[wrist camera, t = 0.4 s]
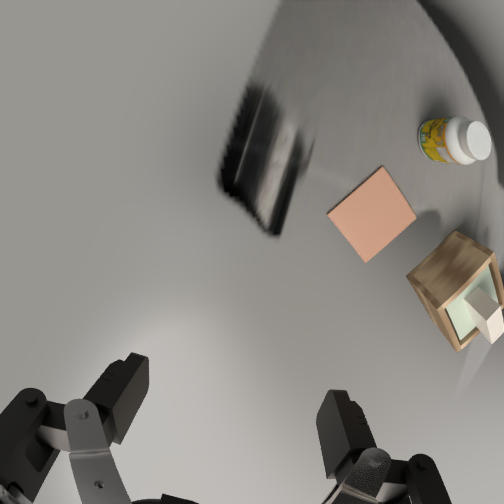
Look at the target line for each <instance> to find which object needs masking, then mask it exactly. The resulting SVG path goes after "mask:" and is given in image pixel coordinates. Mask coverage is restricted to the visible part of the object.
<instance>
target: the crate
mask: <svg viewBox="0 0 504 504" xmlns="http://www.w3.org/2000/svg"><path fill="white" fill-rule="evenodd" d="M487 266H489V269H490V273H491V276H492V279H493V283H494V287H495V291H496V295H497V299H498V304H499V305H500V306H501V310H502V309H503V308H504V288H503V284H502V279H501V275H500V271H499V268H498V264H497V261H496V257H495V254H494V252H493V251H492V250H490V249H488V248H486V247H485V246H483V245H481V244H480V243H478V242H476V241H474V240H472V239H471V238H469V237H467V236H465V235H463V234H461V233H460V232H458V231H456V230H454V231H453V232H452V233H451V234H450V235H449V236H448V237H447V238H446V239H445V240H444V241H443V242H442V243H441V244H440V245H439V246H438V247H437V248H436V249H435V250H434V251H433V252H432V253H431V254H430V255H429V256H428V257H427V258H425V259H424V260H423V261H422V262H421V263H420V264H419V265H418V266H417V267H416V268H414V269H413V270H412V271H411V272H410V273H409V274H408V275H407V276H406V277H407V279H408V280H409V282H410V283H411V285H412V287H413V288H414V290H415V292H416V293H417V295H418V297H419V299H420V300H421V302H422V304H423V305H424V307H425V309H426V311H427V313H428V314H429V316H430V318H431V319H432V321H433V322H434V323H435V324H436V325H437V327H438V328H439V329H440V331H441V332H442V333H443V335H444V336H445V337H446V338H447V340H448V341H449V342H450V344H451V345H452V347H453V348H454V349H455V351H456V352H457V353H458V352H459V351H460V350H461V349H462V348H463V347H465V346H466V345H467V344H468V343H469V342H470V341H471V340H472V339H473V338H474V337H475V336H477V335H478V334H479V333H480V332H481V331H480V330H479V329H478V328H477V327H475V328H474V329H472V330H471V331H470V332H469V333H468V334H467V335H466V336H465V337H464V338H463V339H462V340H459V338H458V337H457V335H456V333H455V331H454V328H453V326H452V324H451V322H450V319H449V317H448V315H447V313H446V311H445V308H446V307H447V306H448V305H449V304H450V303H451V302H452V301H453V300H454V299H456V298H457V297H458V296H459V295H460V294H461V293H462V292H463V291H464V290H465V289H466V288H467V287H468V286H469V285H470V284H471V283H472V282H473V281H474V280H475V279H476V278H477V277H478V276H479V274H480V273H481V272H482V271H483V270H484V269H485V268H486V267H487Z"/></svg>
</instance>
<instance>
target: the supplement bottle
mask: <svg viewBox="0 0 504 504" xmlns="http://www.w3.org/2000/svg"><path fill="white" fill-rule="evenodd" d="M418 142H419V146H420V149H421V151H422V152H423V154H424V155H425V156H426V157H427V158H428V159H430V160H432V161H436V162H445V163H453V164H462V165H469V164H472V163H473V162H475V161H476V160H484V159H486V158H487V157H488V156H489V154H490V151H491V138H490V135H489V132H488V130H487V128H486V127H485V126H484V125H483V124H482V123H481V122H479V121H470V120H469V119H467V118H465V117H462V116H455V117H448V118H441V119H435V120H429V121H426V122H424V123H423V124H422V125H421V127H420V129H419V132H418Z"/></svg>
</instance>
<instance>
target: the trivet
mask: <svg viewBox="0 0 504 504" xmlns="http://www.w3.org/2000/svg"><path fill="white" fill-rule="evenodd" d="M327 215H328V216H329V218H330V219H331V220H332V221H333V222H334V224H335V225H336V226H337V227H338V229H339V230H340V231H341V232H342V234H343V235H344V236H345V237H346V239H347V240H348V241H349V242H350V244H351V245H352V246H353V247H354V249H355V250H356V251H357V253H358V254H359V255H360V256H361V258H362V259H363V260H364V262H365V263H366V262H367V261H368V260H370V259H371V258H372V257H373V256H374V255H375V254H377V253H378V252H379V251H380V250H381V249H383V248H384V247H385V246H386V245H387V244H388V243H389V242H391V241H392V240H393V239H394V238H395V237H396V236H397V235H398V234H400V232H402V231H403V230H404V229H405V228H406V227H407V226H408V225H410V224H411V223H412V222H413V221H414V220H415V219H416V218H417V217H416V216H415V214H414V212H413V211H412V209H411V208H410V206H409V204H408V203H407V201H406V200H405V198H404V197H403V195H402V193H401V192H400V190H399V189H398V187H397V186H396V184H395V183H394V182H393V180H392V179H391V177H390V176H389V174H388V173H387V172H386V170H385V169H384V167H380V168H379V169H378V170H377V171H376V172H375V173H374V174H373V175H371V176H370V177H369V178H368V179H367V180H366V181H365V182H363V183H362V184H361V185H360V186H359V187H358V188H357V189H355V190H354V191H353V192H352V193H351V194H350V195H349V196H347V197H346V198H345V199H344V200H343V201H342V202H340V203H339V204H338V205H337V206H336V207H335V208H333V209H332V210H331V211H330V212H329V213H328V214H327Z"/></svg>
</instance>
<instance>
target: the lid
mask: <svg viewBox="0 0 504 504" xmlns="http://www.w3.org/2000/svg"><path fill="white" fill-rule="evenodd" d="M445 311H446V313H447V315H448V317H449V319H450V322H451V324H452V326H453V328H454V331H455V333H456V335H457V337H458V338H459V340H462V339H463V338H464V337H465V336H466V335H467V334H468V333H469V332H470V331H471V330H472V329H474V328H475V327H477V328H478V329H479V330H480V331H481V332H482V334H483V335H484V336H485V337H486V338H487V339H488V340H489V341H490V343H491V344H493V343H494V342H495V341H496V339H497V338H498V337H499V336H500V335H501V334H502V333H503V332H504V321H503V316H502V311H501V306H500V305H499V304H498V299H497V295H496V291H495V287H494V283H493V279H492V276H491V273H490V269H489V266H487V267H486V268H485V269H484V270H483V271H482V272H481V273H480V274H479V276H478V277H477V278H476V279H475V280H474V281H473V282H472V283H471V284H470V285H469V286H468V287H467V288H466V289H465V290H464V291H463V292H462V293H461V294H460V295H459V296H458V297H457V298H456V299H454V300H453V301H452V302H451V303H450V304H449V305H448V306H447V307H446V308H445Z"/></svg>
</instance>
